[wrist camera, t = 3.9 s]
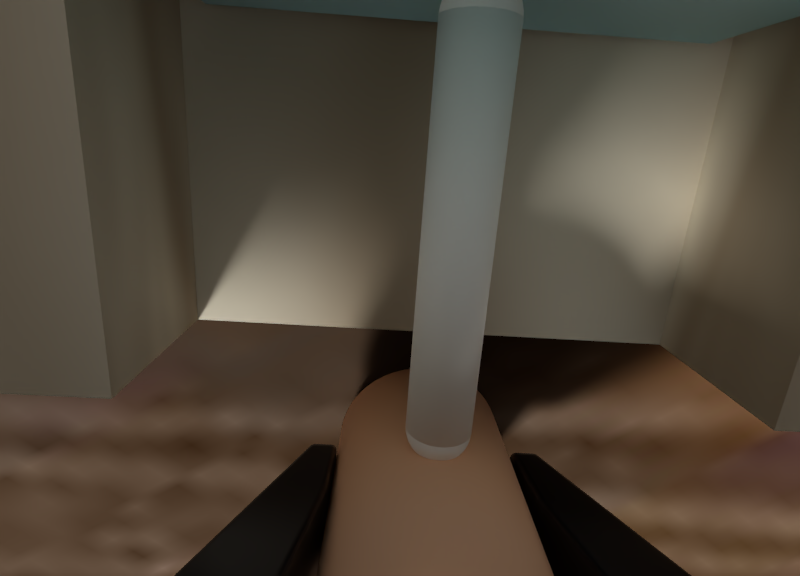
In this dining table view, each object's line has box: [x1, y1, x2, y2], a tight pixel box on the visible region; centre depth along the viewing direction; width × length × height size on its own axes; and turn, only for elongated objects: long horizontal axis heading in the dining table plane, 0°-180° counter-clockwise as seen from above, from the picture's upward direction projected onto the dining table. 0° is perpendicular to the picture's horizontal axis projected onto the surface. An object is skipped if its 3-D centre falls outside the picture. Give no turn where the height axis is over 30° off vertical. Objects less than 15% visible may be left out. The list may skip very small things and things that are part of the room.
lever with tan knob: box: [201, 0, 800, 576], centre depth 6 cm, size 7×12×5 cm, turn 176°
